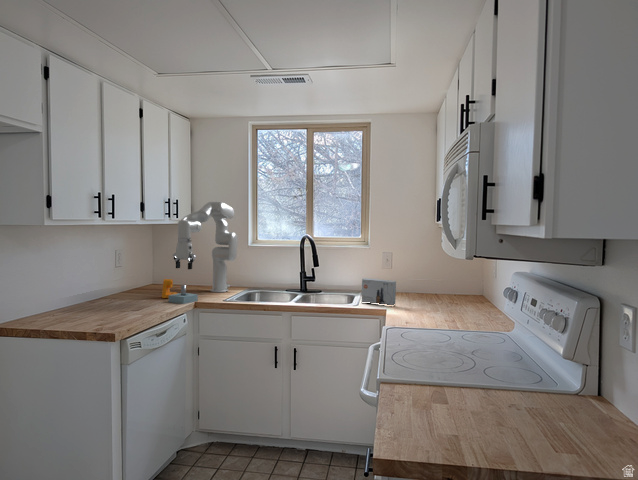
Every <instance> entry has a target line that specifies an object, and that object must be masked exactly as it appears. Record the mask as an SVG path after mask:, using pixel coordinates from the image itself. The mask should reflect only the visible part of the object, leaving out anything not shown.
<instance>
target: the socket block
mask: <svg viewBox="0 0 638 480" xmlns="http://www.w3.org/2000/svg"><path fill="white" fill-rule="evenodd" d="M198 298H199V297H198V294H197V293H191V292H190V293H189V292H186V295H185V296H181V292H180V293H179V292H178V293H177V294H173V295H169V298H168V303H173V304H181V305H182V304H183V305H187V304H190V303H194V302H198V301H199V300H198Z"/></svg>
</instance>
